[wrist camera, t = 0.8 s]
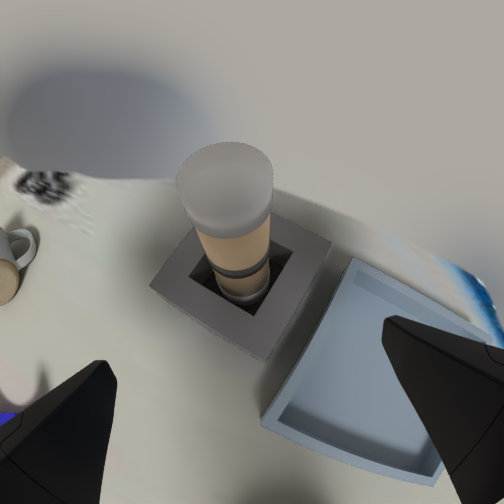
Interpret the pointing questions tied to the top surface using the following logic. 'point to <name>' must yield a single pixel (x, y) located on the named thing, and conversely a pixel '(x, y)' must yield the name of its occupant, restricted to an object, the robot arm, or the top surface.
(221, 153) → the fuse
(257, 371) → the top surface
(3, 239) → the ceramic mug
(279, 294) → the fuse holder
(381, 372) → the parts tray
